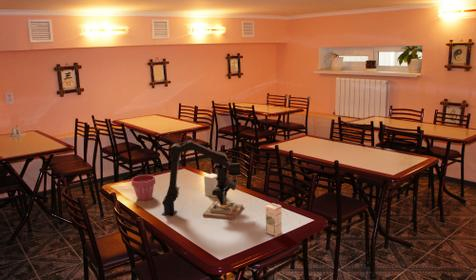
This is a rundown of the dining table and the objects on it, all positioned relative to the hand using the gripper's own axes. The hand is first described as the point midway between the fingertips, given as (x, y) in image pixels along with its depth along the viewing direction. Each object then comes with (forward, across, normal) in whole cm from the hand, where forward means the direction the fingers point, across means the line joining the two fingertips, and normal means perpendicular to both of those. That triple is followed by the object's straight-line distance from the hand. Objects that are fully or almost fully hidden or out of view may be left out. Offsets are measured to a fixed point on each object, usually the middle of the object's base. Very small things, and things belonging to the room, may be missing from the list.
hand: (223, 202), depth 240 cm
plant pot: (+6, +11, +55) cm, 56 cm away
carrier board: (+6, 0, 0) cm, 6 cm away
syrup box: (+6, -21, -33) cm, 40 cm away
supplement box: (+6, +25, +15) cm, 30 cm away
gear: (+2, 0, 0) cm, 2 cm away
